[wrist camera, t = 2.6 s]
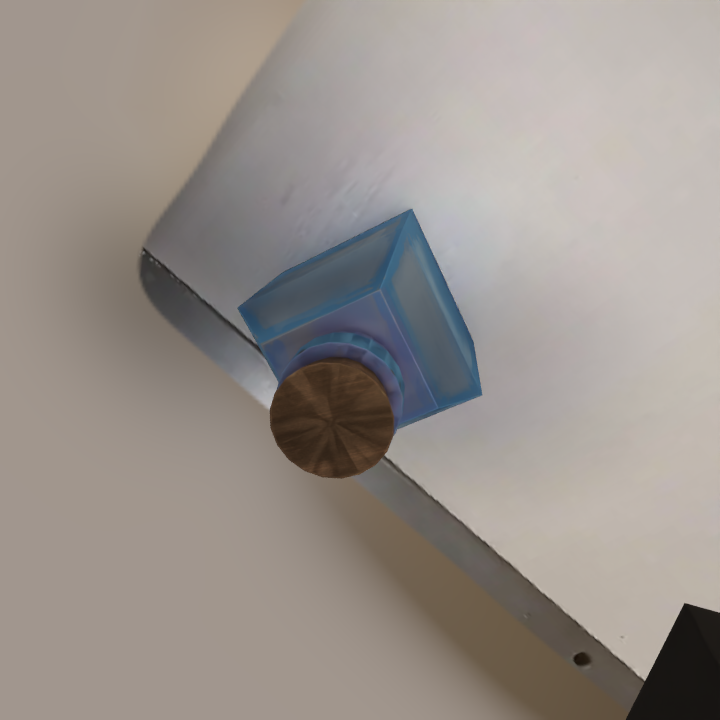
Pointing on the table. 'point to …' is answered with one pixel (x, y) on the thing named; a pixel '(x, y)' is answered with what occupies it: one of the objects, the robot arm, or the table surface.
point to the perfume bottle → (361, 348)
